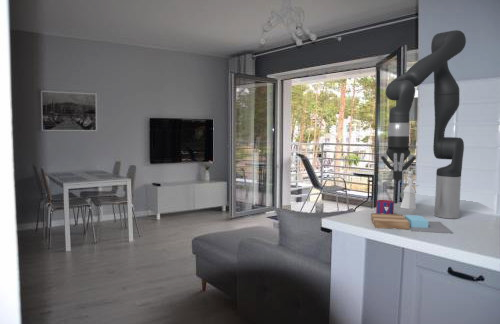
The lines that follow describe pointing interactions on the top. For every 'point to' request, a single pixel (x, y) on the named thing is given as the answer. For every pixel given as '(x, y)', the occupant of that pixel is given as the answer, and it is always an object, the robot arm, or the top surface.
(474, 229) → the top surface
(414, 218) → the light blue block
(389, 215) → the deck
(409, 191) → the figurine
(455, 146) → the robot arm
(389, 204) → the mug
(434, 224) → the mat
